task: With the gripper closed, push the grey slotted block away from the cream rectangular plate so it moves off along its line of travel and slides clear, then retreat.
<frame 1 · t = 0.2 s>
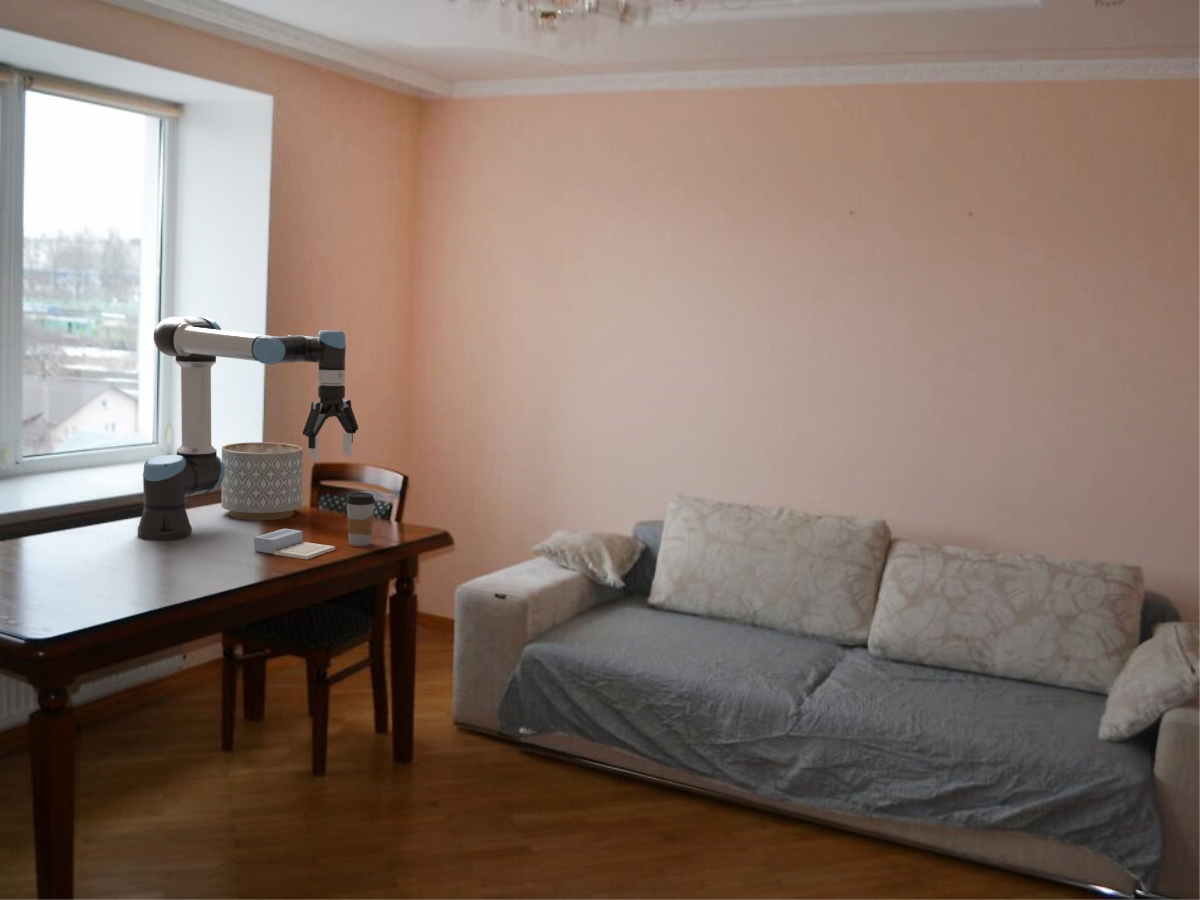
hand: (330, 457, 331), 27 cm above the table, fingers open, 13 cm apart
planter: (262, 514, 377), on the table
coffee cup: (359, 544, 341), on the table
grey slotted block: (278, 540, 330), point 2 cm above the table, slide at 0.0 cm
cream rectangular plate: (304, 552, 328), on the table
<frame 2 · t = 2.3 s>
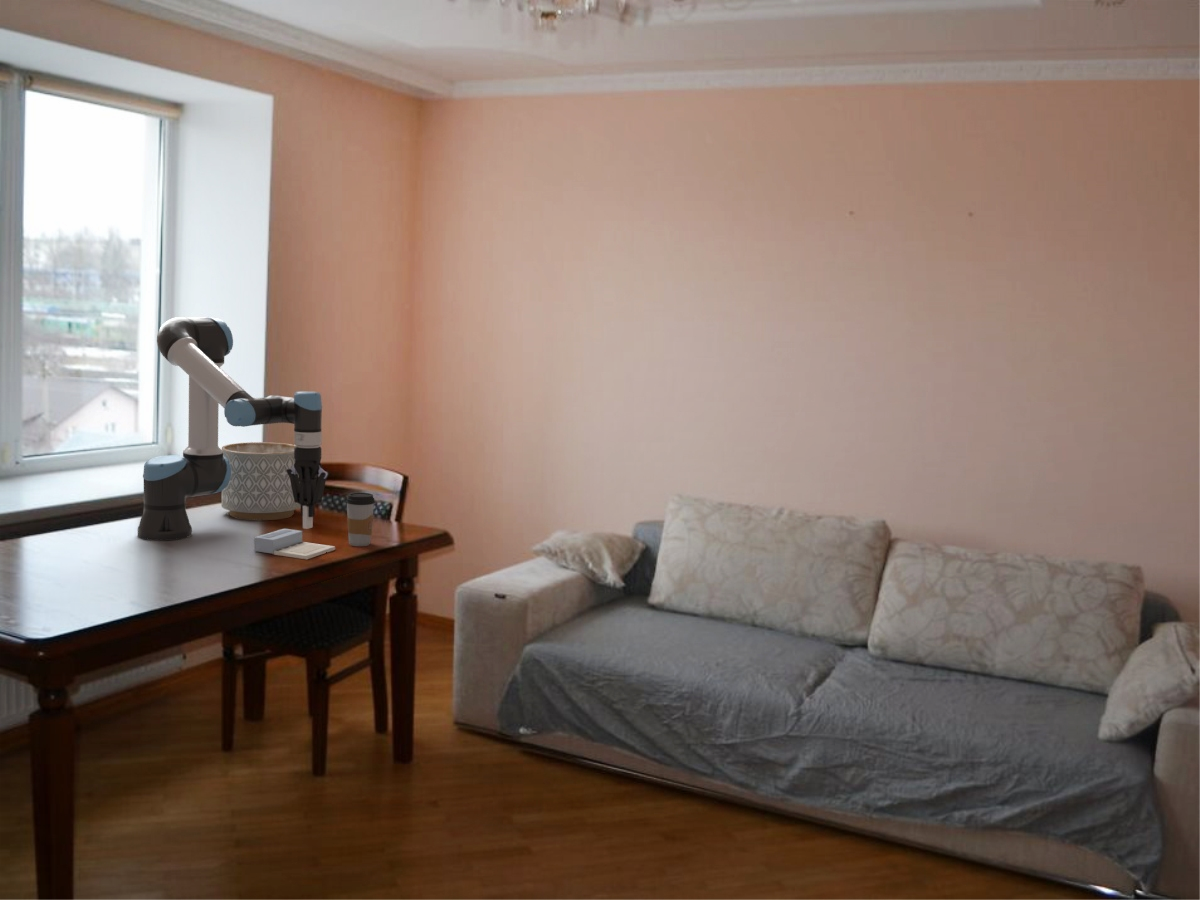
hand: (307, 527, 326), 7 cm above the table, fingers closed
nothing on the table moved.
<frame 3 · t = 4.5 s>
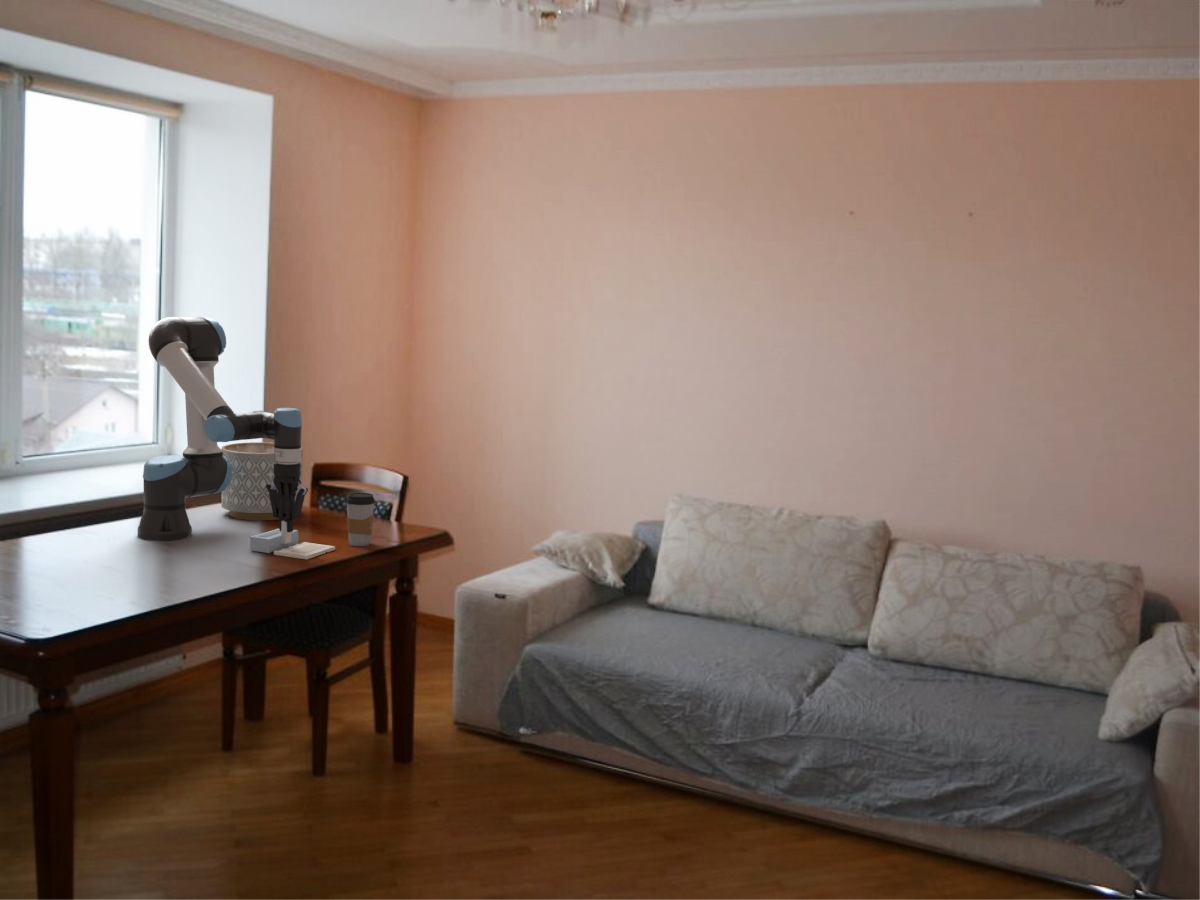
hand: (286, 542, 330), 2 cm above the table, fingers closed
grey slotted block: (274, 540, 331), point 2 cm above the table, slide at 1.4 cm, touching gripper
everything else where it was.
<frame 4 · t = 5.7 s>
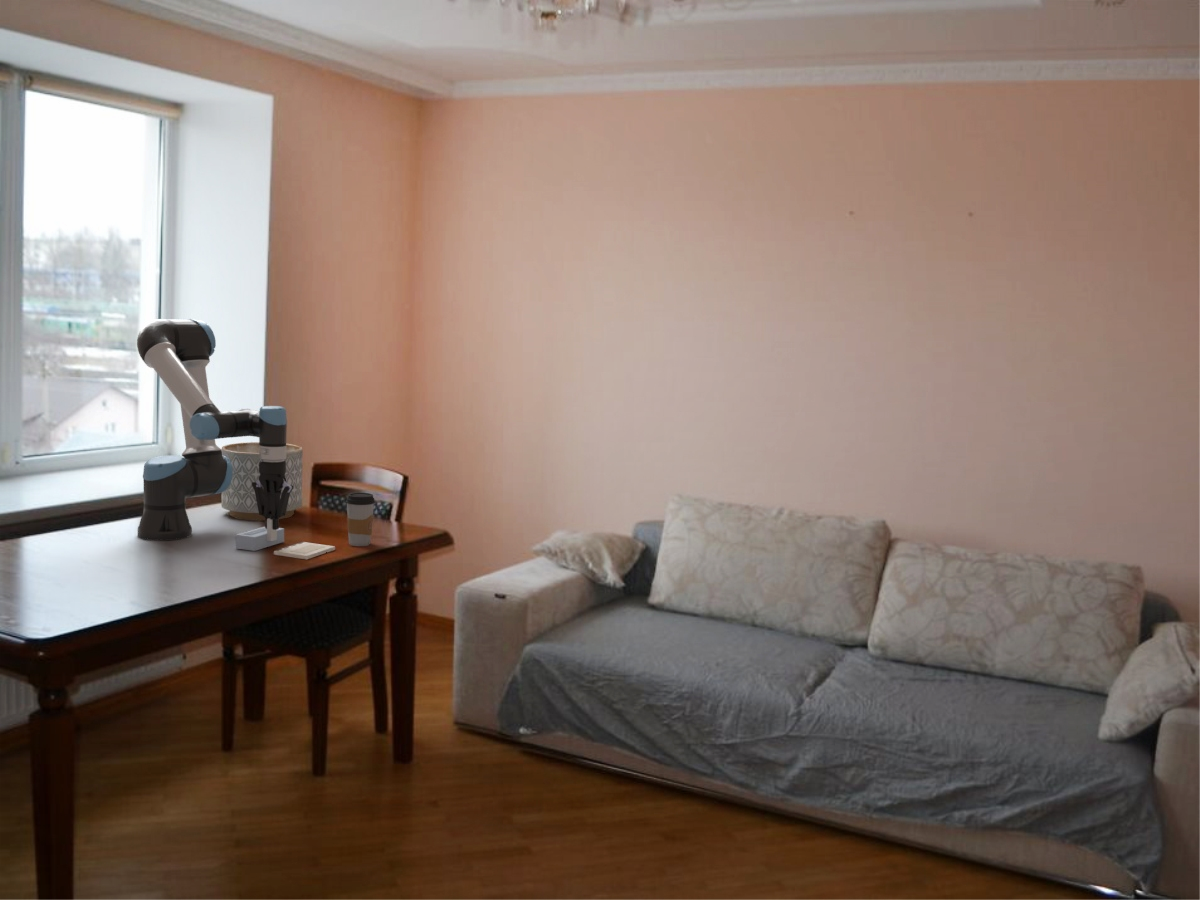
hand: (271, 540, 331), 2 cm above the table, fingers closed
grey slotted block: (260, 538, 333), point 2 cm above the table, slide at 6.4 cm, touching gripper
everything else where it was.
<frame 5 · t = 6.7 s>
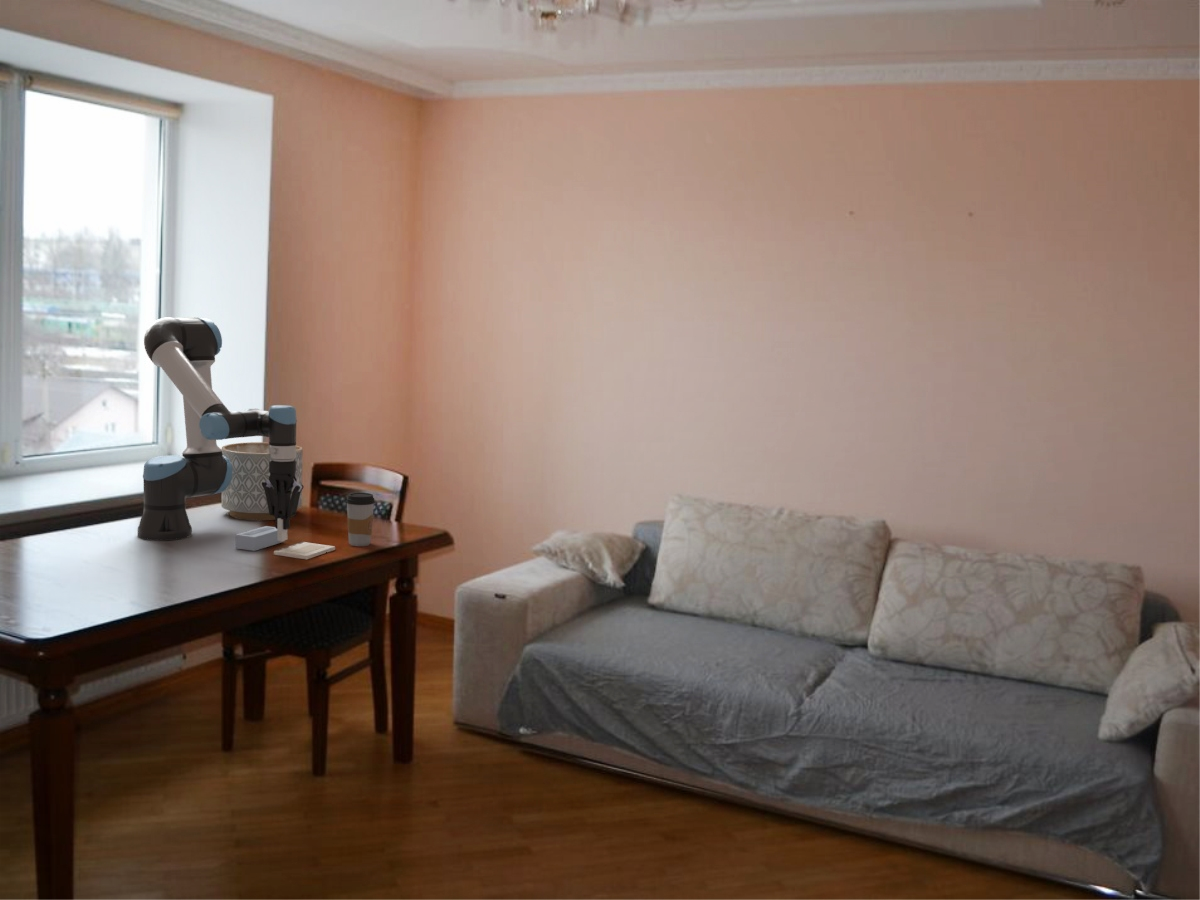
hand: (282, 540, 330), 3 cm above the table, fingers closed
grey slotted block: (260, 537, 333), point 2 cm above the table, slide at 6.4 cm
everything else where it was.
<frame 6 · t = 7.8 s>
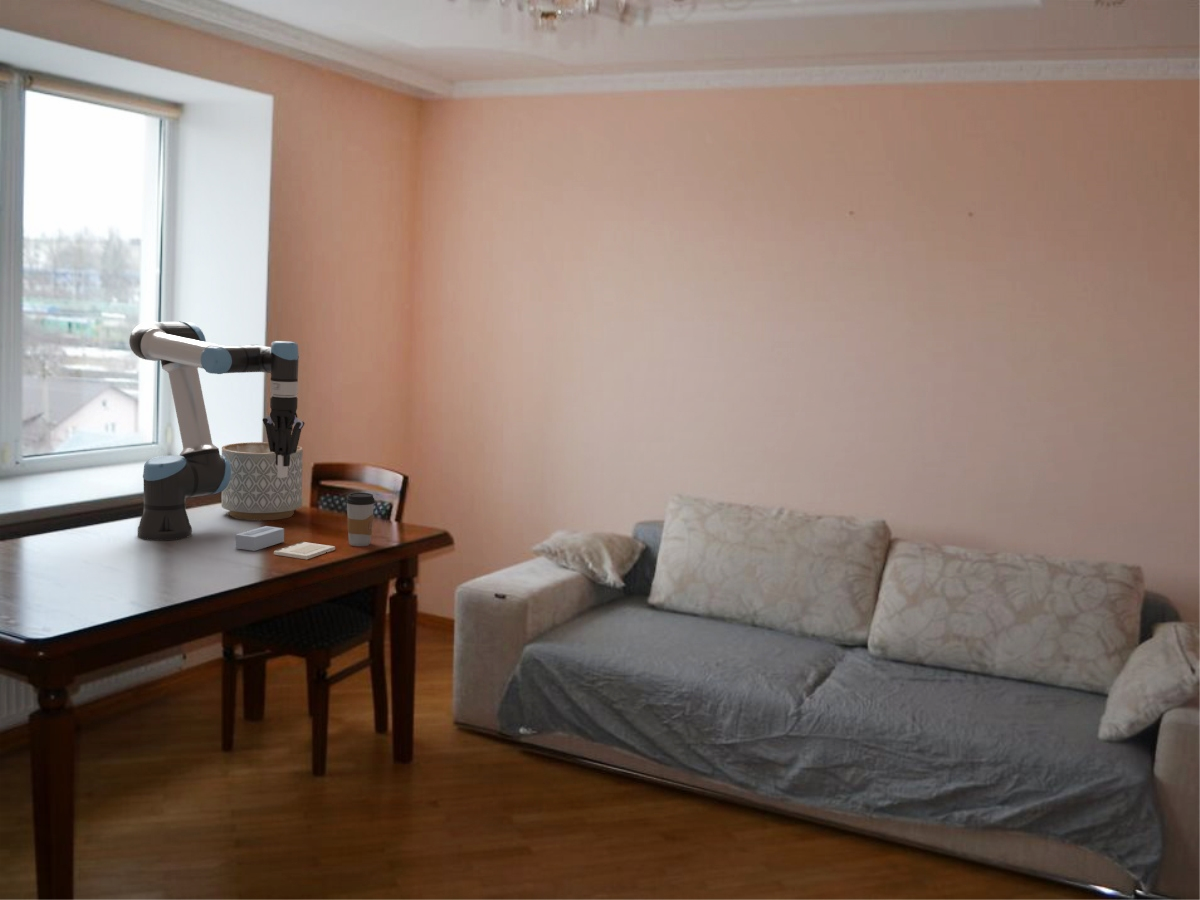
hand: (282, 477, 328), 21 cm above the table, fingers closed
nothing on the table moved.
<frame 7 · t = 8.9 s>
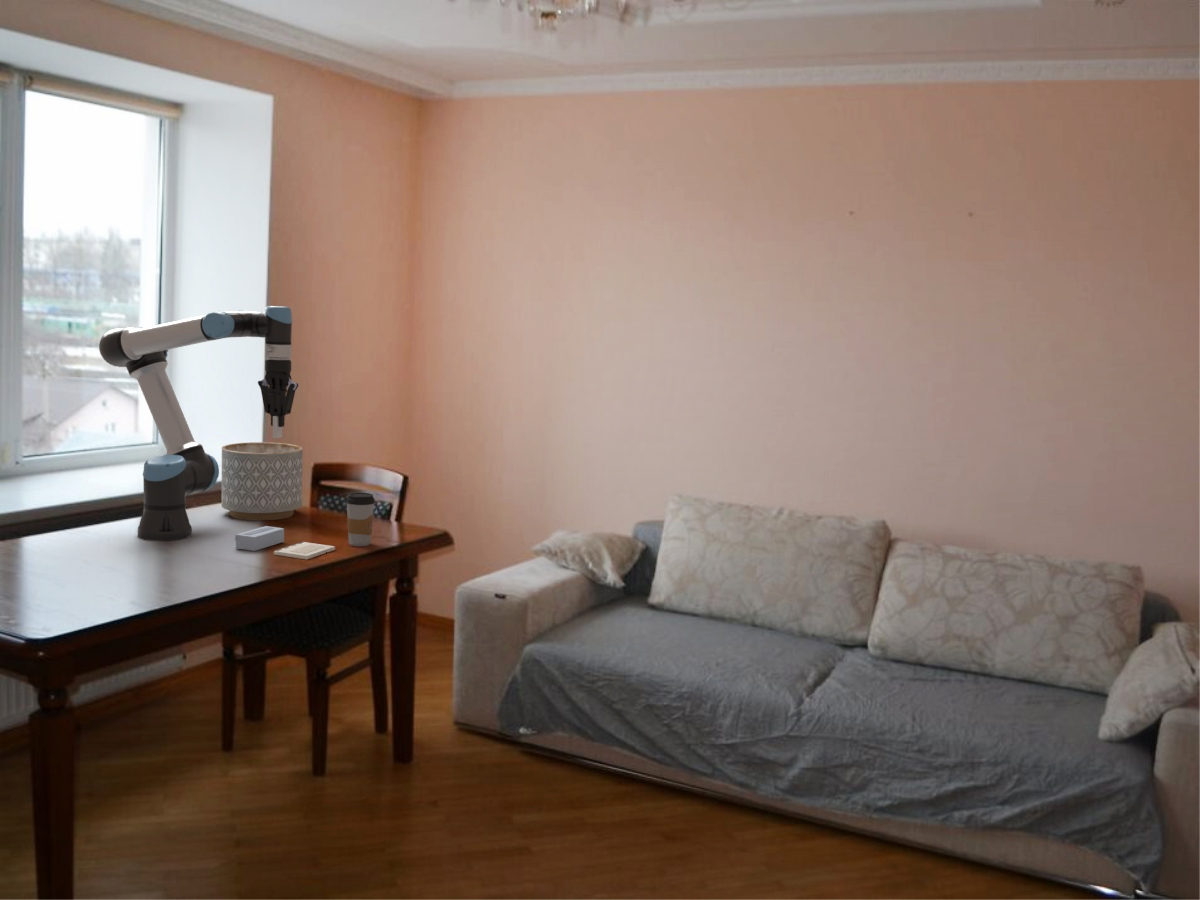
hand: (277, 437, 341), 30 cm above the table, fingers closed
nothing on the table moved.
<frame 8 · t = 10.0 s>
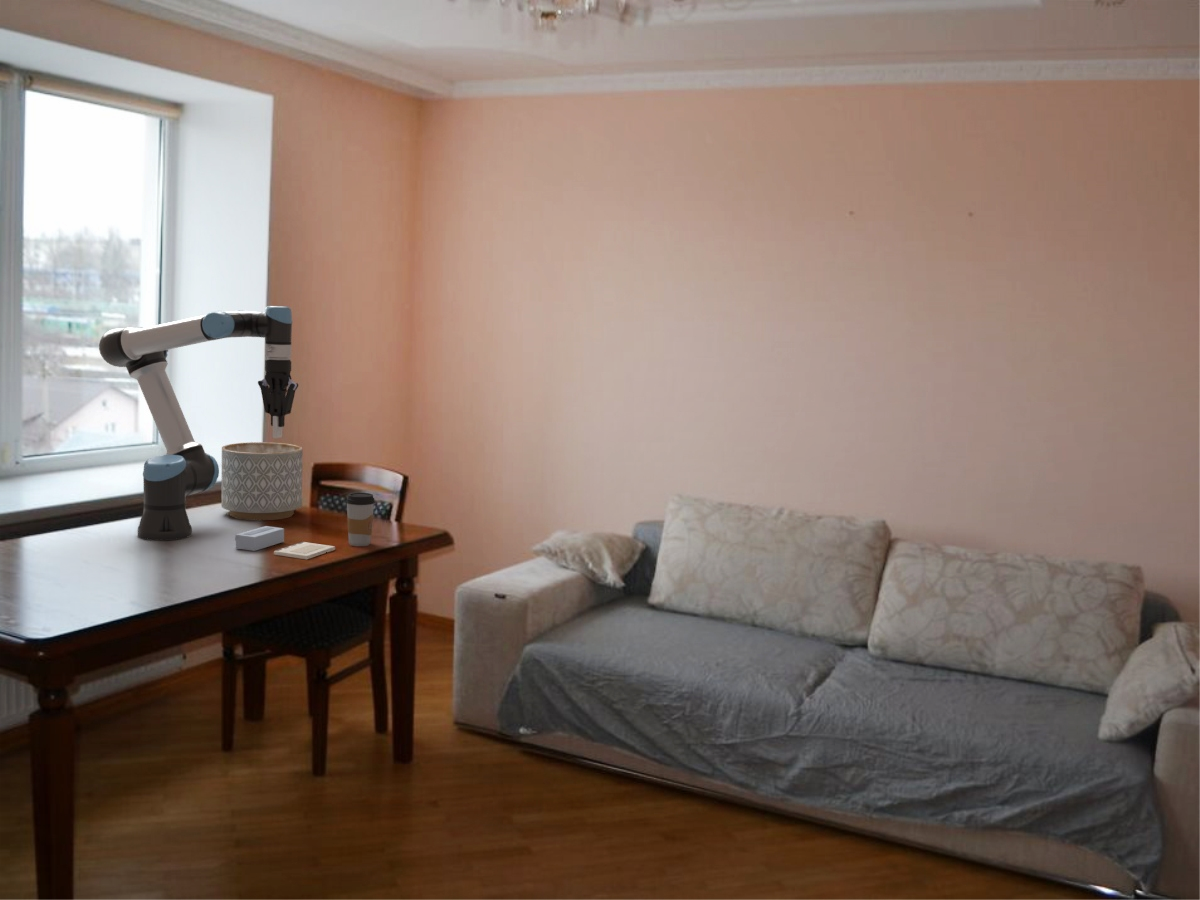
hand: (277, 437, 341), 30 cm above the table, fingers closed
nothing on the table moved.
at the end: grey slotted block slide at 6.4 cm; grey slotted block touching nothing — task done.
